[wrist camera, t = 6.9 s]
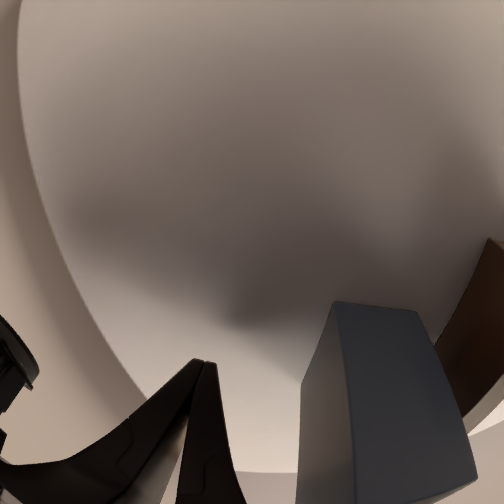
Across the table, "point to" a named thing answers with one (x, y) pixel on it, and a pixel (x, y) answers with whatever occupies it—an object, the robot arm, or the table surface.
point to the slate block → (379, 415)
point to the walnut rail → (477, 341)
